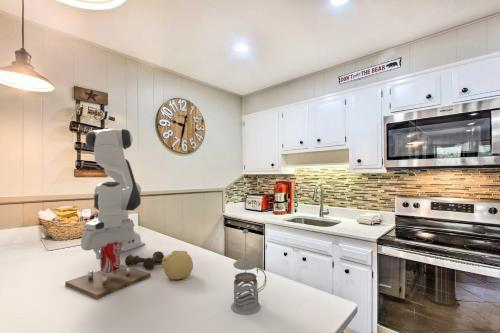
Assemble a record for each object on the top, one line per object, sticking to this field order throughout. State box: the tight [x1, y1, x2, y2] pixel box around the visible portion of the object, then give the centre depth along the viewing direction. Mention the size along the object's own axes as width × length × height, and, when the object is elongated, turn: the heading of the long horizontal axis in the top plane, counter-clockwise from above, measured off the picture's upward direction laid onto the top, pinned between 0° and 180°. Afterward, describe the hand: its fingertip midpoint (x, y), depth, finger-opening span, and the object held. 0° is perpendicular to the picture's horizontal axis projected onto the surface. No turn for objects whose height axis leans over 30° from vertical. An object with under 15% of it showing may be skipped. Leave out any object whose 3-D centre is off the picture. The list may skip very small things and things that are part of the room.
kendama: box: [124, 251, 165, 271], centre depth 119 cm, size 6×10×20 cm
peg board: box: [64, 264, 151, 300], centre depth 102 cm, size 22×22×4 cm
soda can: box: [99, 241, 121, 273], centre depth 102 cm, size 7×7×12 cm
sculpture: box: [161, 250, 194, 280], centre depth 106 cm, size 12×12×11 cm
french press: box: [230, 228, 267, 316], centre depth 82 cm, size 10×12×25 cm
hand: (109, 255), depth 102 cm, fingers closed on soda can, 7 cm apart
